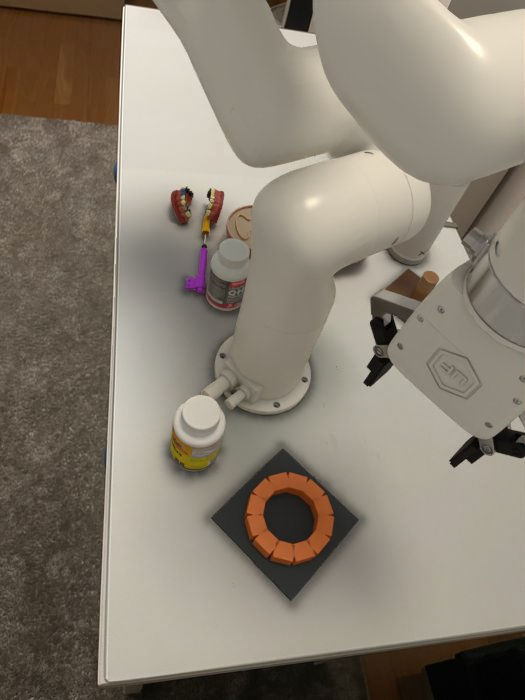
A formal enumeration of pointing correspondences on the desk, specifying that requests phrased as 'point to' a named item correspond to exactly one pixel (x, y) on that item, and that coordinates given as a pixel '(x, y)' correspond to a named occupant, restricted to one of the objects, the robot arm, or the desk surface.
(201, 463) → the supplement bottle
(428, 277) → the ring post
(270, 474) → the mat
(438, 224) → the travel mug
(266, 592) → the desk surface
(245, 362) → the robot arm
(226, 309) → the pill bottle
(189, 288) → the purple and orange tool
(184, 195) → the dental model
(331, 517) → the ring
